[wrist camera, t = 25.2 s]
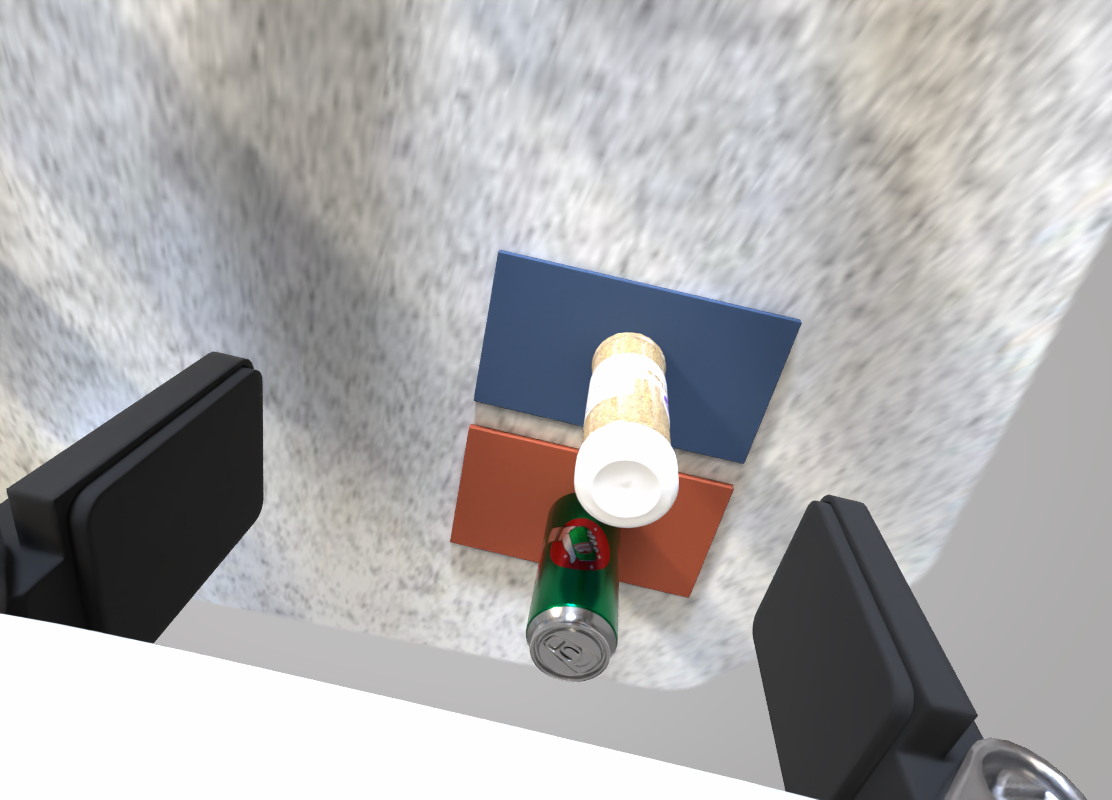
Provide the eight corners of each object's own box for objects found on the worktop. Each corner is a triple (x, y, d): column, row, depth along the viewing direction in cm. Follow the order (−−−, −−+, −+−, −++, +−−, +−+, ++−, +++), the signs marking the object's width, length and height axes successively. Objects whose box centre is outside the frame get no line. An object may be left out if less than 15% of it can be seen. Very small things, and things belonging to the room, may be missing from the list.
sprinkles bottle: (676, 381, 40) (695, 514, 28) (608, 407, 41) (599, 544, 29) (648, 316, 38) (655, 428, 26) (578, 345, 40) (555, 464, 28)
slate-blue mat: (474, 397, 43) (473, 401, 42) (499, 249, 38) (498, 251, 37) (742, 460, 43) (744, 464, 42) (800, 319, 38) (802, 322, 37)
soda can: (588, 557, 47) (575, 700, 36) (533, 517, 46) (504, 653, 35) (636, 516, 45) (637, 655, 34) (580, 473, 44) (563, 603, 33)
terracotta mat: (451, 538, 48) (449, 542, 48) (470, 423, 43) (469, 427, 43) (688, 593, 48) (689, 598, 48) (732, 484, 43) (733, 488, 43)
